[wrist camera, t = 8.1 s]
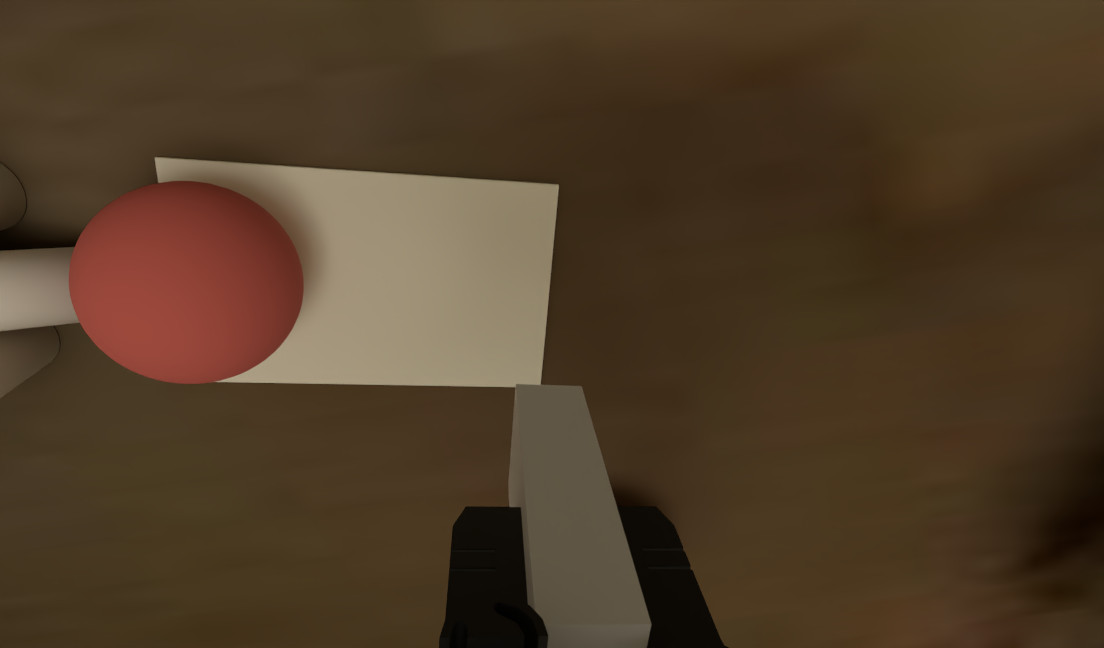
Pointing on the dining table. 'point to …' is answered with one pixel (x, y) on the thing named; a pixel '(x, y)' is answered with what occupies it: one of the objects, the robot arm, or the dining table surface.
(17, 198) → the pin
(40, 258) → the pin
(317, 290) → the cream flat rectangular slab
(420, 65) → the dining table surface
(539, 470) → the robot arm
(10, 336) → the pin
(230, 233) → the ball
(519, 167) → the dining table surface
